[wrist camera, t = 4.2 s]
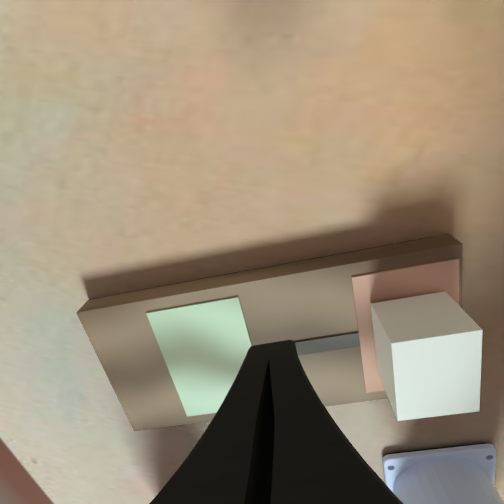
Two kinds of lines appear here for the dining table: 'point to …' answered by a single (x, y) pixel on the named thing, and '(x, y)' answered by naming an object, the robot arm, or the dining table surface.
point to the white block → (427, 356)
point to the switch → (260, 327)
